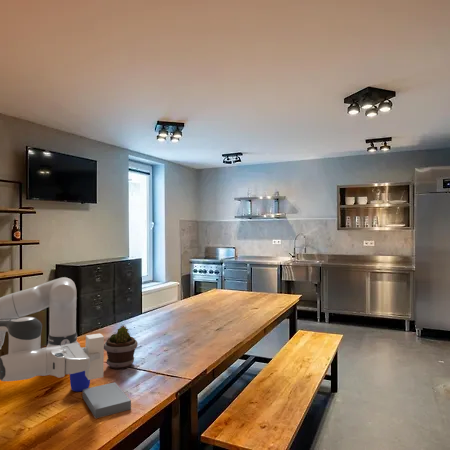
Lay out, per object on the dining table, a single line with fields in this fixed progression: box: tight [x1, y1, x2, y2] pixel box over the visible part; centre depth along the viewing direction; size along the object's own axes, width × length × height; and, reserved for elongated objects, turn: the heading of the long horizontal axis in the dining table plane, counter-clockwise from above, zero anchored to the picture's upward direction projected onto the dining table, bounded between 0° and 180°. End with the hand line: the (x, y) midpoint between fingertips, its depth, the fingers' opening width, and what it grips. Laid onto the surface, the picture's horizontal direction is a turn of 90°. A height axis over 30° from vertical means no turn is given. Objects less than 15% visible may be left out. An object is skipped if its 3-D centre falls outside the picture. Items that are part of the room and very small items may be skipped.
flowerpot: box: [104, 324, 138, 370], centre depth 171 cm, size 14×15×20 cm
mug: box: [69, 371, 91, 392], centre depth 148 cm, size 8×12×10 cm
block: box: [85, 333, 105, 381], centre depth 132 cm, size 5×5×14 cm
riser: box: [82, 381, 132, 419], centre depth 134 cm, size 18×12×3 cm, turn 34°
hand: (97, 352), depth 132 cm, fingers closed on block, 5 cm apart
